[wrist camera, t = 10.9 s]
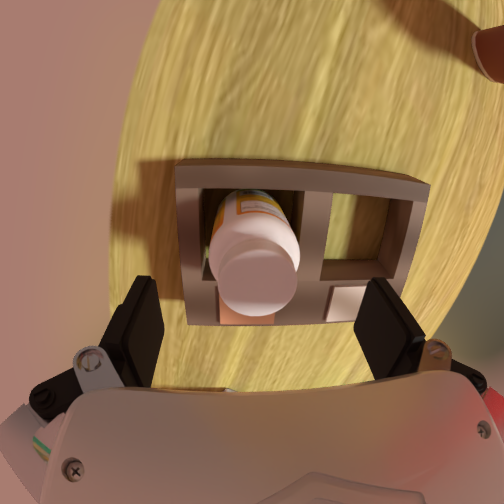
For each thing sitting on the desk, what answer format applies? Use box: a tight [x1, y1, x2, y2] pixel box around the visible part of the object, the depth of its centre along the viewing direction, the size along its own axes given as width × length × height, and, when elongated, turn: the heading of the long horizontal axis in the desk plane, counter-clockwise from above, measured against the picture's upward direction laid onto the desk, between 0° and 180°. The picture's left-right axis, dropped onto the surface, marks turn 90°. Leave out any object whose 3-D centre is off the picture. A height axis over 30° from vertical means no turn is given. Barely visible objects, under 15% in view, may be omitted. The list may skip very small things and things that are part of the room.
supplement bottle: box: [209, 189, 300, 316], centre depth 18 cm, size 5×5×10 cm
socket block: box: [175, 158, 431, 326], centre depth 22 cm, size 13×19×4 cm
